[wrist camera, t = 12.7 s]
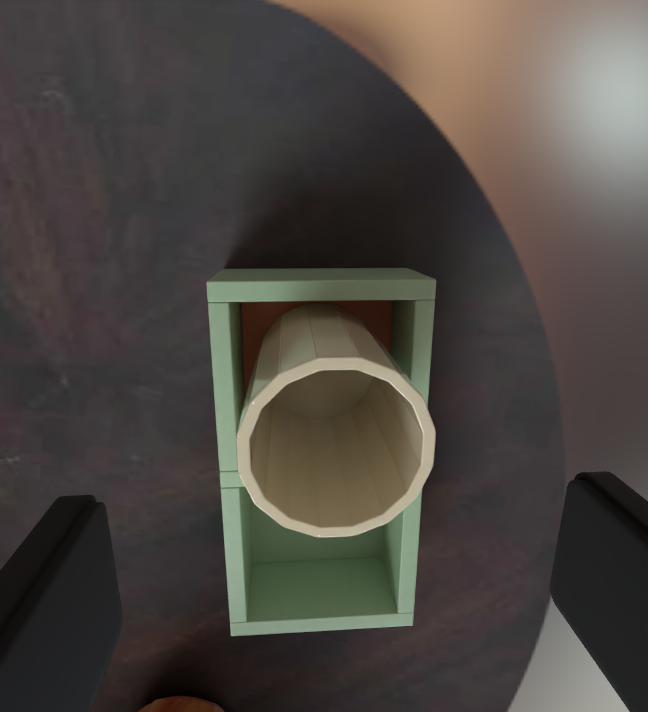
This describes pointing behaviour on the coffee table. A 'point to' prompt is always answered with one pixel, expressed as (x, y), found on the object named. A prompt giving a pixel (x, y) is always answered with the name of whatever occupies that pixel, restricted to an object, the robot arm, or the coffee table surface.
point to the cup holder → (257, 529)
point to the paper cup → (331, 426)
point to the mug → (181, 705)
